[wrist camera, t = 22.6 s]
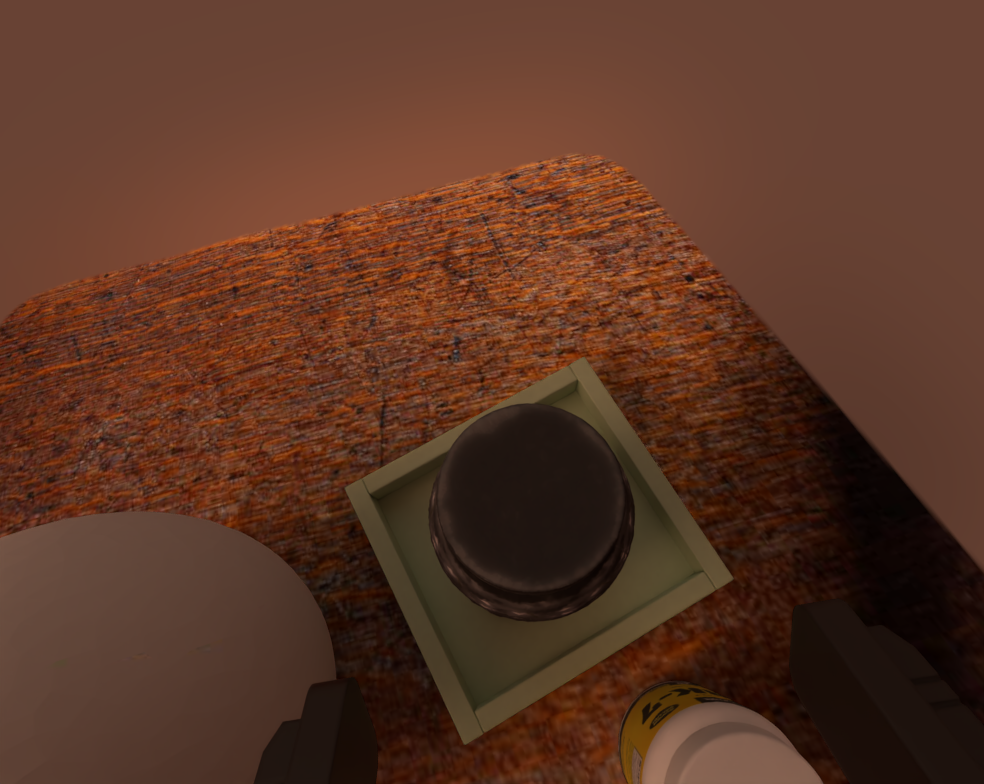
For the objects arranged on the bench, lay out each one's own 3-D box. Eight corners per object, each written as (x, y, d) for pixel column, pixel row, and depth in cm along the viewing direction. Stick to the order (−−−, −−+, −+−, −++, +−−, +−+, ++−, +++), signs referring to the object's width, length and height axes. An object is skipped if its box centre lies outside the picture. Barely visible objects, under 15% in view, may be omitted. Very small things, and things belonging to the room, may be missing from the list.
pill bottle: (480, 451, 26) (447, 350, 16) (618, 485, 25) (677, 402, 15) (440, 594, 24) (372, 585, 14) (588, 636, 24) (632, 659, 13)
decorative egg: (33, 859, 23) (-787, 1273, 9) (113, 530, 27) (-350, 443, 13) (349, 882, 22) (19, 1385, 8) (383, 538, 26) (207, 457, 12)
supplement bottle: (725, 671, 23) (825, 703, 15) (761, 812, 22) (891, 929, 14) (604, 688, 23) (641, 729, 16) (629, 830, 22) (685, 957, 14)
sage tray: (580, 373, 28) (584, 355, 26) (718, 581, 24) (734, 578, 23) (357, 496, 27) (343, 487, 25) (470, 734, 23) (464, 746, 21)
